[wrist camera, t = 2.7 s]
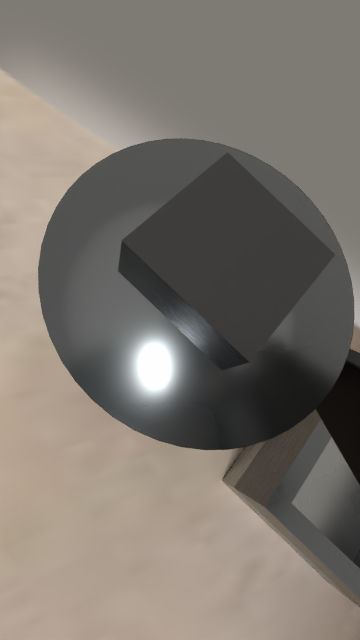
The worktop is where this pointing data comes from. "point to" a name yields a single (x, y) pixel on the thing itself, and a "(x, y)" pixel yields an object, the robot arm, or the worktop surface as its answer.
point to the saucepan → (306, 499)
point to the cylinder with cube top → (196, 294)
